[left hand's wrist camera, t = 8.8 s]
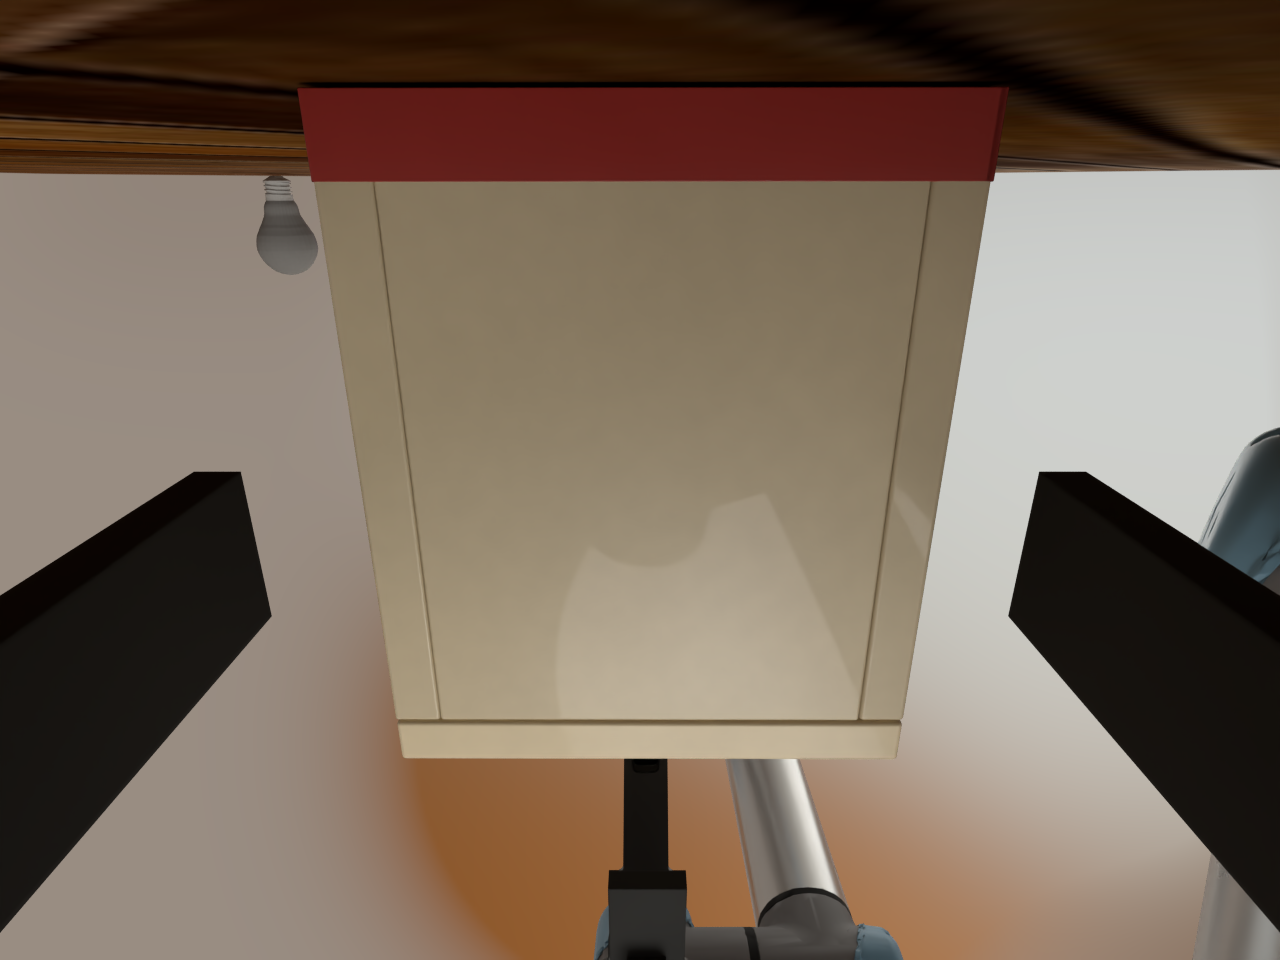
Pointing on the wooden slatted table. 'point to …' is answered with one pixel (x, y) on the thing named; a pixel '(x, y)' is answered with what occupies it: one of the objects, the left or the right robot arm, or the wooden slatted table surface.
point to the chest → (651, 385)
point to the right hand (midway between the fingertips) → (646, 741)
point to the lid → (649, 739)
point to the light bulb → (284, 231)
